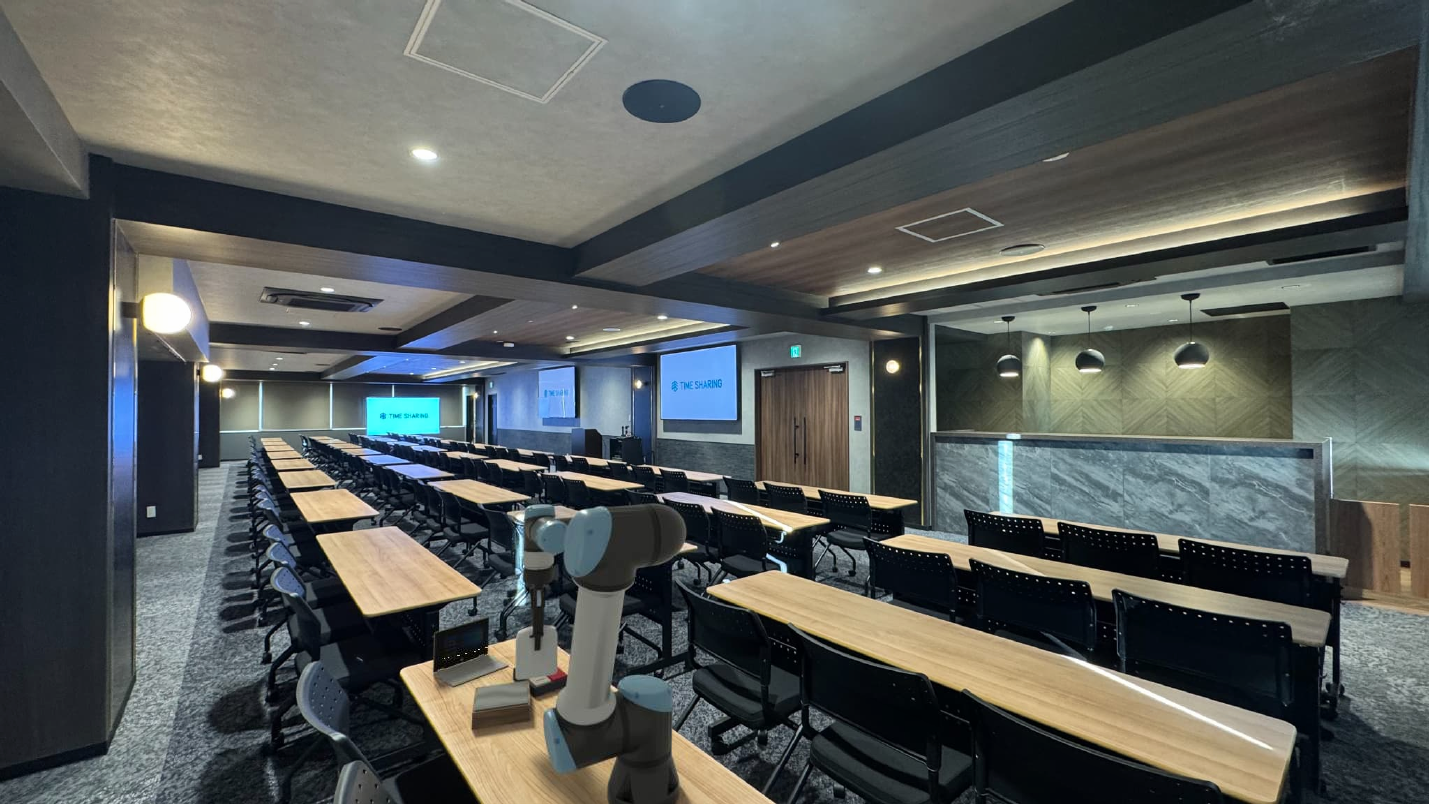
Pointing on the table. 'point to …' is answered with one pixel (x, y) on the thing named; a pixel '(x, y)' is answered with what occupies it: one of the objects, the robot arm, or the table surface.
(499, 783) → the table surface
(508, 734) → the table surface
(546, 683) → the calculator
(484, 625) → the laptop
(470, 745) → the table surface
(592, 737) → the robot arm
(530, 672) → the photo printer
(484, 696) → the mirror
